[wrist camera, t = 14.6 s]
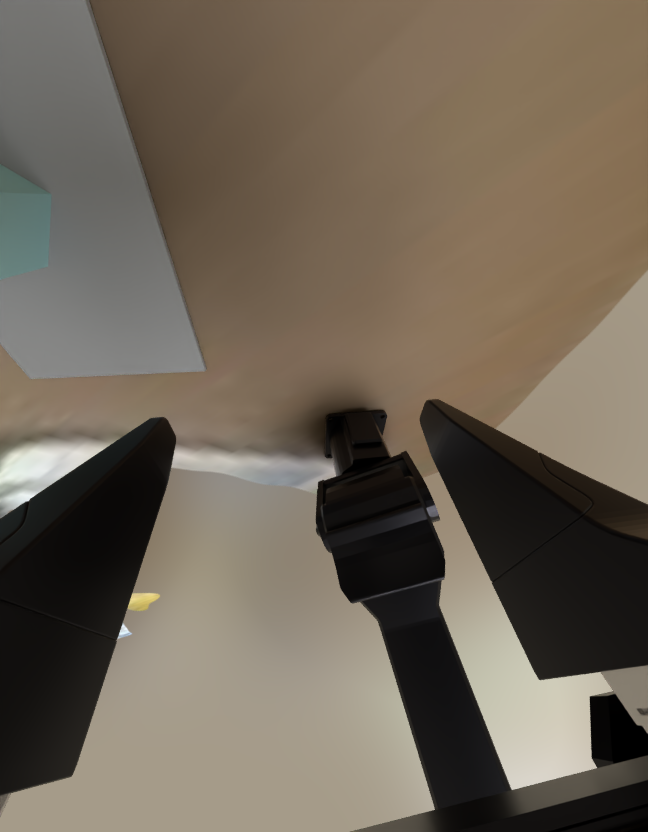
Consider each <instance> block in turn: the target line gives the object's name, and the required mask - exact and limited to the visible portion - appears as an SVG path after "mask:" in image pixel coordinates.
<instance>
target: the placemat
mask: <svg viewBox="0 0 648 832" xmlns="http://www.w3.org/2000/svg"><path fill="white" fill-rule="evenodd" d="M0 164H1V165H3V166H4V167H6V168H8V169H10V170H11V171H13V172H15V173H16V174H18V175H20V176H21V177H23V178H25V179H26V180H28V181H30V182H32V183H33V184H35V185H37V186H38V187H40V188H42V189H43V190H45V191H47V192H48V193H50V194H52V196H51V217H50V237H49V257H48V267H45V268H41V269H37V270H34V271H30V272H26V273H23V274H19V275H15V276H12V277H8V278H4V279H1V280H0V344H1V346H2V347H3V348H4V349H5V350H6V351H7V353H8V354H9V355H10V356H11V357H12V358H13V360H14V361H15V362H16V363H17V364H18V365H19V366H20V368H21V369H22V370H23V371H24V372H25V373H26V375H27V376H28V377H29V378H30V379H43V378H65V377H87V376H109V375H131V374H153V373H175V372H197V371H206V369H207V368H206V365H205V362H204V358H203V355H202V352H201V349H200V346H199V343H198V340H197V337H196V333H195V330H194V327H193V324H192V321H191V318H190V315H189V312H188V308H187V305H186V302H185V299H184V296H183V293H182V290H181V287H180V283H179V280H178V277H177V274H176V271H175V268H174V265H173V262H172V258H171V255H170V252H169V249H168V246H167V243H166V240H165V237H164V233H163V230H162V227H161V224H160V221H159V218H158V215H157V212H156V208H155V205H154V202H153V199H152V196H151V193H150V190H149V187H148V183H147V180H146V177H145V174H144V171H143V168H142V165H141V162H140V158H139V155H138V152H137V149H136V146H135V143H134V140H133V137H132V133H131V130H130V127H129V124H128V121H127V118H126V115H125V112H124V108H123V105H122V102H121V99H120V96H119V93H118V90H117V87H116V83H115V80H114V77H113V74H112V71H111V68H110V65H109V62H108V58H107V55H106V52H105V49H104V46H103V43H102V40H101V37H100V33H99V30H98V27H97V24H96V21H95V18H94V15H93V12H92V8H91V5H90V2H89V0H0Z"/></svg>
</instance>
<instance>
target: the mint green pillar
mask: <svg viewBox="0 0 648 832" xmlns="http://www.w3.org/2000/svg"><path fill="white" fill-rule="evenodd" d="M51 196H52V194H50V193H48V192H47V191H45V190H43V189H42V188H40V187H38V186H37V185H35V184H33V183H32V182H30V181H28V180H26V179H25V178H23V177H21V176H20V175H18V174H16V173H15V172H13V171H11V170H10V169H8V168H6V167H4V166H3V165H1V164H0V280H1V279H4V278H8V277H12V276H15V275H19V274H23V273H26V272H30V271H34V270H37V269H41V268H45V267H48V257H49V237H50V217H51Z"/></svg>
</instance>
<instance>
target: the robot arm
mask: <svg viewBox="0 0 648 832" xmlns="http://www.w3.org/2000/svg"><path fill="white" fill-rule="evenodd" d="M381 415H383V416H381ZM331 418H332V419H331ZM329 419H331V420H329ZM386 419H387V414H386V412H385V411H370V412H355V413H340V414H329V415H327V416H326V427H325V457H326V458H333V462H334V467H335V472H336V477H333V478H330V479H328V480H325V481H324V480H322V481H319V482H318V489H317V506H316V524H317V526H316V532H317V534H318V535H319V536H320V537H321V539H322V541H323V543H324V546H325V547H326V549H327V550H328V552H330V553H332V555H333V558H334V562H335V566H336V570H337V575H338V579H339V584H340V588H341V590H342V591H343V593H344V594H345V596H346V597H347V598H348V600H349V601H350V602H351V603H357V602H361V603H362V604H363V606H364V607H365V608H366V609H367V610H368V611H369V612H370V613H371V614H372V615H373V616H374V617H375V618H376V619H377V621H378V623H379V626H380V629H381V632H382V636H383V639H384V642H385V645H386V649H387V652H388V656H389V659H390V662H391V665H392V668H393V672H394V675H395V678H396V682H397V685H398V688H399V692H400V695H401V698H402V702H403V705H404V708H405V712H406V714H407V718H408V721H409V725H410V728H411V731H412V735H413V738H414V741H415V744H416V748H417V751H418V754H419V758H420V761H421V764H422V768H423V771H424V774H425V777H426V781H427V784H428V787H429V791H430V794H431V797H432V800H433V804H434V807H435V810H433V811H429V812H425V813H421V814H418V815H413V816H410V817H406V818H402V819H398V820H394V821H390V822H387V823H382V824H379V825H375V826H371V827H367V828H363V829H359V830H355V831H351V832H648V504H646V503H643V502H641V501H639V500H637V499H635V498H633V497H630V496H628V495H626V494H624V493H622V492H620V491H617V490H615V489H613V488H611V487H609V486H607V485H605V484H603V483H600V482H598V481H596V480H594V479H592V478H589V477H588V476H586V475H584V474H581V473H579V472H577V471H575V470H573V469H571V468H569V467H567V466H565V465H563V464H561V463H559V462H557V461H555V460H553V459H551V458H549V457H548V456H546V455H544V454H542V453H538V452H537V451H536V450H534V449H532V448H530V447H528V446H527V445H525V444H522V443H521V442H519V441H517V440H515V439H513V438H511V437H509V436H507V435H506V434H503V433H502V432H500V431H498V430H496V429H494V428H492V427H490V426H488V425H487V424H485V423H483V422H481V421H479V420H477V419H475V418H473V417H471V416H469V415H467V414H466V413H464V412H462V411H460V410H458V409H456V408H454V407H452V406H450V405H448V404H446V403H445V402H443V401H441V400H439V399H432V400H427V401H426V402H425V404H424V407H423V410H422V413H421V415H420V424H421V427H422V430H423V433H424V436H425V439H426V441H427V444H428V447H429V450H430V453H431V456H432V458H433V460H434V463H435V465H436V467H437V469H438V471H439V473H440V475H441V477H442V479H443V481H444V483H445V485H446V488H447V490H448V492H449V494H450V496H451V498H452V500H453V502H454V504H455V507H456V509H457V511H458V513H459V515H460V517H461V519H462V521H463V523H464V525H465V527H466V529H467V532H468V534H469V536H470V538H471V540H472V542H473V544H474V546H475V548H476V550H477V553H478V554H479V557H480V559H481V561H482V563H483V565H484V567H485V569H486V571H487V574H488V576H489V577H490V580H491V581H492V584H493V586H494V589H495V591H496V593H497V595H498V597H499V599H500V601H501V603H502V605H503V607H504V609H505V612H506V614H507V616H508V618H509V620H510V622H511V624H512V626H513V628H514V630H515V632H516V635H517V637H518V639H519V641H520V643H521V645H522V647H523V649H524V651H525V653H526V655H527V657H528V660H529V662H530V664H531V666H532V668H533V670H534V672H535V674H536V675H537V677H538V679H539V680H545V679H552V678H558V677H567V676H573V675H580V674H589V673H595V672H601V674H602V675H603V676H604V678H605V680H606V681H607V682H608V684H609V685H610V687H611V688H612V690H613V691H612V692H608V693H604V694H599V695H595V696H590V716H591V717H590V720H591V750H592V759H593V761H594V763H595V764H596V766H597V768H596V769H593V770H589V771H585V772H581V773H577V774H573V775H569V776H565V777H561V778H558V779H554V780H550V781H546V782H542V783H538V784H534V785H530V786H527V787H523V788H519V789H515V790H511V787H510V785H509V782H508V780H507V777H506V775H505V772H504V769H503V767H502V764H501V762H500V759H499V757H498V754H497V752H496V750H495V747H494V744H493V741H492V739H491V736H490V734H489V731H488V729H487V726H486V724H485V721H484V719H483V716H482V713H481V711H480V708H479V706H478V703H477V701H476V698H475V696H474V693H473V691H472V688H471V685H470V683H469V680H468V678H467V675H466V673H465V670H464V668H463V665H462V662H461V660H460V657H459V655H458V652H457V650H456V647H455V645H454V642H453V639H452V637H451V634H450V632H449V630H448V627H447V624H446V622H445V619H444V617H443V614H442V612H441V609H440V606H439V599H440V598H439V597H440V590H441V581H442V580H444V578H445V559H444V551H443V547H442V545H441V543H440V540H439V538H438V535H437V533H436V531H435V528H434V526H433V523H432V522H436V521H439V520H440V518H439V514H438V511H437V508H436V506H435V503H434V501H433V499H432V497H431V494H430V492H429V490H428V488H427V486H426V484H425V482H424V480H423V478H422V476H421V475H420V473H419V471H418V470H417V468H416V466H415V465H414V463H413V461H412V460H411V458H410V456H409V454H408V453H407V451H404V452H402V453H401V454H399V455H396V456H393V457H391V455H390V453H389V451H388V448H387V446H386V444H385V441H384V439H383V437H382V435H383V431H384V427H385V423H386ZM175 444H176V436H175V433H174V431H173V429H172V427H171V425H170V424H169V422H168V420H167V419H166V418H164V417H157V418H150V419H149V420H147V421H146V422H144V423H143V424H141V425H140V426H138V427H137V428H135V429H134V430H132V431H131V432H129V433H128V434H126V435H125V436H123V437H122V438H120V439H119V440H117V441H116V442H114V443H113V444H111V445H110V446H108V447H107V448H105V449H104V450H102V451H101V452H99V453H98V454H96V455H95V456H93V457H92V458H90V459H89V460H87V461H86V462H84V463H83V464H81V465H80V466H78V467H77V468H75V469H74V470H73V471H71V472H70V473H68V474H67V475H65V476H64V477H62V478H61V479H59V480H58V481H56V482H55V483H53V484H52V485H50V486H49V487H47V488H46V489H44V490H43V491H41V492H40V493H38V494H37V495H35V496H34V497H32V498H31V499H30V500H29V501H26V502H25V503H23V504H22V505H20V506H19V507H17V508H16V509H14V510H13V511H11V512H10V513H8V514H7V515H5V516H4V517H2V518H1V519H0V816H1V814H2V812H3V810H4V808H5V806H6V803H7V801H8V799H9V797H10V795H11V793H13V792H17V791H21V790H24V789H28V788H32V787H35V786H39V785H43V784H47V783H50V782H54V781H58V780H62V779H65V778H69V777H71V776H72V775H73V773H74V770H75V768H76V765H77V762H78V760H79V757H80V753H81V750H82V747H83V744H84V741H85V738H86V735H87V732H88V729H89V726H90V722H91V719H92V716H93V713H94V710H95V707H96V704H97V701H98V698H99V695H100V692H101V688H102V686H103V682H104V679H105V676H106V673H107V670H108V667H109V664H110V661H111V658H112V655H113V651H114V649H115V646H116V642H117V641H116V640H117V638H118V636H119V632H120V629H121V626H122V623H123V620H124V617H125V614H126V611H127V608H128V605H129V602H130V598H131V595H132V592H133V589H134V586H135V583H136V580H137V577H138V574H139V571H140V568H141V564H142V561H143V558H144V555H145V552H146V549H147V546H148V543H149V540H150V537H151V534H152V531H153V527H154V524H155V521H156V518H157V515H158V512H159V509H160V506H161V502H162V500H163V496H164V494H165V491H166V487H167V484H168V480H169V476H170V471H171V465H172V460H173V455H174V450H175Z"/></svg>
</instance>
